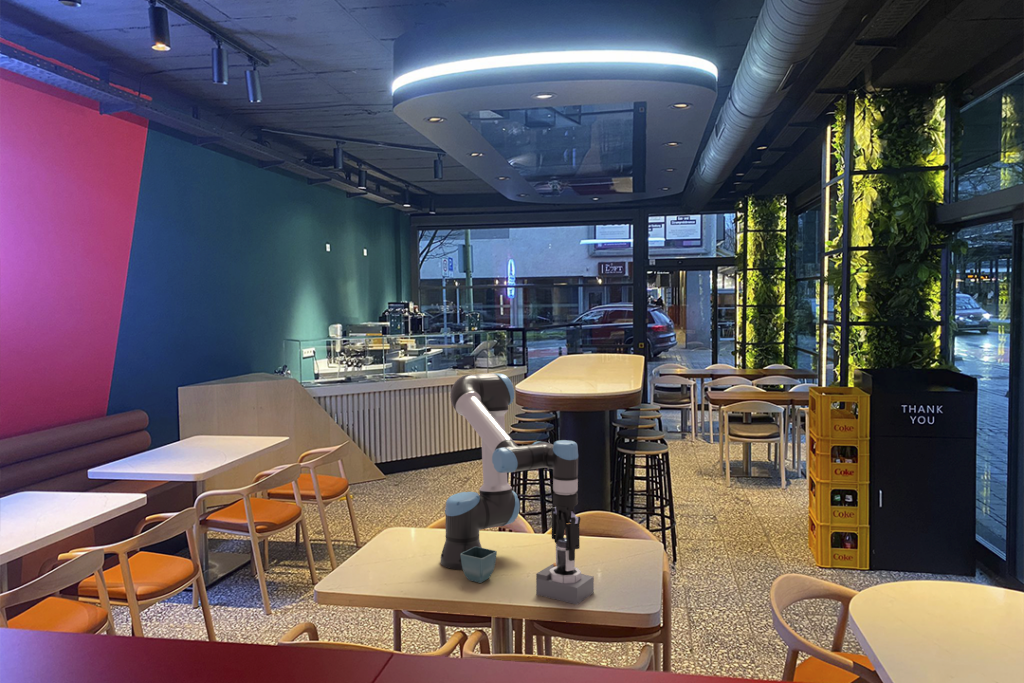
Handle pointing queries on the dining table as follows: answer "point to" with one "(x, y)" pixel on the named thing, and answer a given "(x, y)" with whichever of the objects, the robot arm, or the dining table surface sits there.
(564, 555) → the lens
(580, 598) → the camera body
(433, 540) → the dining table surface
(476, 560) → the flower pot
